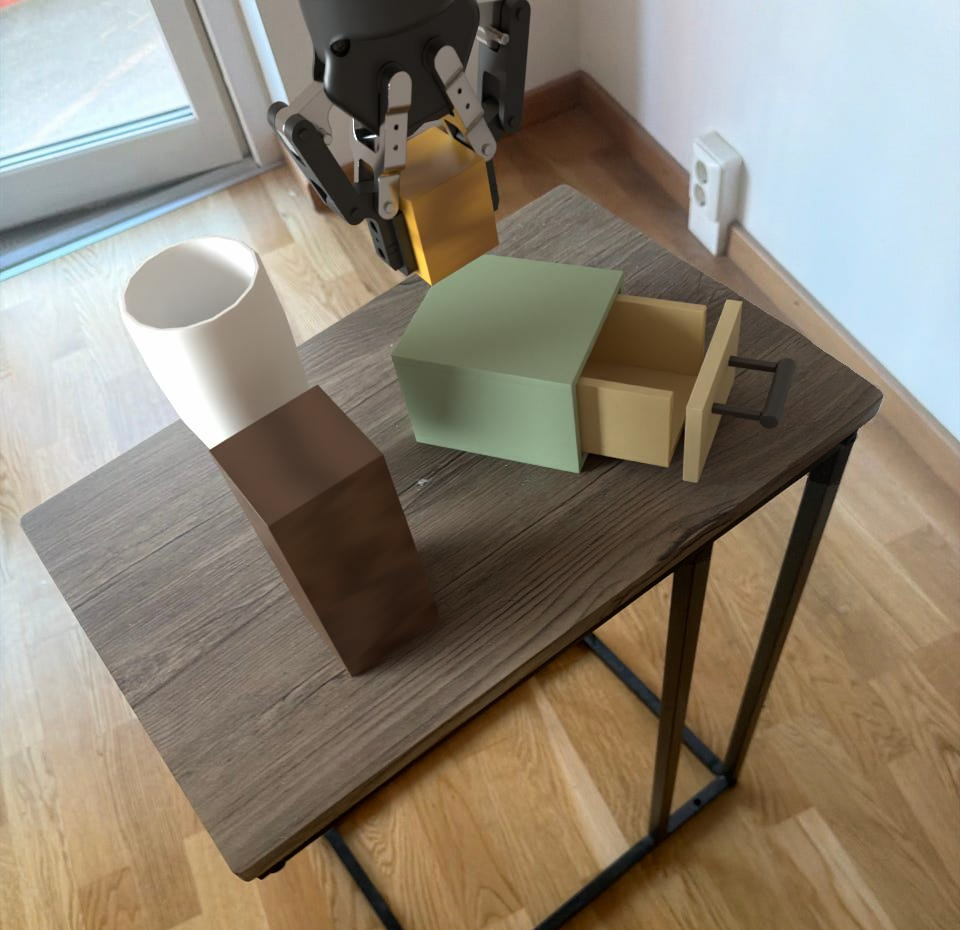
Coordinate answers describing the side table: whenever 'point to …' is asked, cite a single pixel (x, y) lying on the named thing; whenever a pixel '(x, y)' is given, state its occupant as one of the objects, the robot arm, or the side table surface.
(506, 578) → the side table surface
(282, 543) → the stand
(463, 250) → the block
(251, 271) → the cup
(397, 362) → the cabinet
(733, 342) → the drawer
